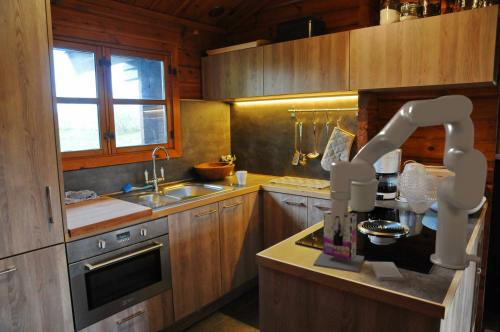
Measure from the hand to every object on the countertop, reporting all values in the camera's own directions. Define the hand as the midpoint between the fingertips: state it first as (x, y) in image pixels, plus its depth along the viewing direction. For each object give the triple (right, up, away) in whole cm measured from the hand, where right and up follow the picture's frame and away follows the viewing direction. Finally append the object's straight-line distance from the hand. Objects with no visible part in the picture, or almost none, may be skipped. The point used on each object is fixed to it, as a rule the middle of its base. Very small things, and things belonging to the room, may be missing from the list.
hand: (339, 242), depth 135 cm
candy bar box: (0, -5, +1) cm, 5 cm away
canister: (+30, +3, +70) cm, 76 cm away
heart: (+57, +2, +60) cm, 83 cm away
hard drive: (+14, -9, -8) cm, 19 cm away
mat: (0, -7, +1) cm, 8 cm away
